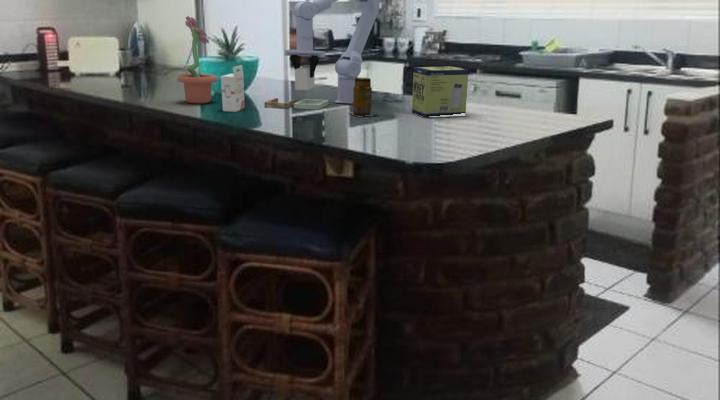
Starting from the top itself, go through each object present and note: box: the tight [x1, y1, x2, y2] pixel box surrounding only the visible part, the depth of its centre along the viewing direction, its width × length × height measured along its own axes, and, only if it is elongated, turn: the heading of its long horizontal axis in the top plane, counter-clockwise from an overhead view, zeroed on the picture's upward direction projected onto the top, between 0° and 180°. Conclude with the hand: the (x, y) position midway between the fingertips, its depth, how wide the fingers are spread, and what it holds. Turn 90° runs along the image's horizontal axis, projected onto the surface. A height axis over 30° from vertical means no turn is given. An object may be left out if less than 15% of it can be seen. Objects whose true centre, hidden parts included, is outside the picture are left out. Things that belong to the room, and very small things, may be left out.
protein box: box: [411, 65, 469, 118], centre depth 211 cm, size 10×16×16 cm
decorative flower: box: [177, 15, 218, 105], centre depth 225 cm, size 15×14×30 cm
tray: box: [293, 98, 329, 111], centre depth 225 cm, size 9×13×2 cm
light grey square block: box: [294, 65, 315, 91], centre depth 226 cm, size 4×8×8 cm, turn 165°
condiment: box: [352, 77, 373, 118], centre depth 209 cm, size 7×8×12 cm
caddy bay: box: [264, 97, 298, 110], centre depth 225 cm, size 8×11×2 cm
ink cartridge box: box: [220, 64, 246, 113], centre depth 214 cm, size 9×5×15 cm, turn 168°
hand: (305, 77), depth 226 cm, fingers closed on light grey square block, 4 cm apart
